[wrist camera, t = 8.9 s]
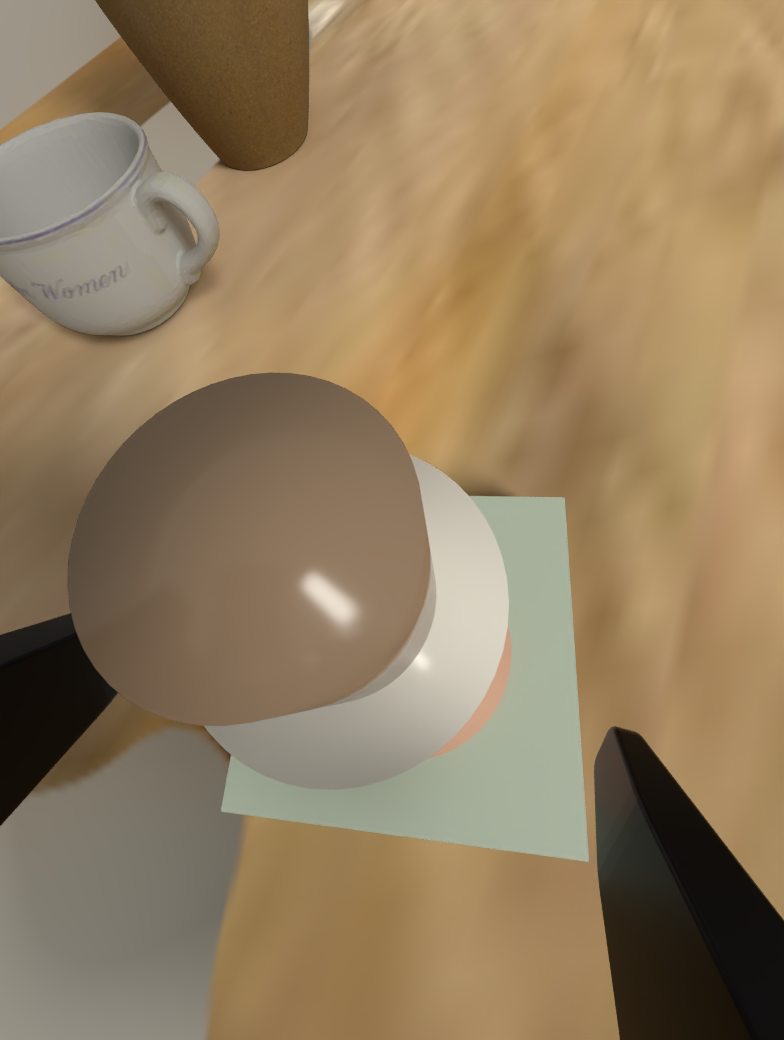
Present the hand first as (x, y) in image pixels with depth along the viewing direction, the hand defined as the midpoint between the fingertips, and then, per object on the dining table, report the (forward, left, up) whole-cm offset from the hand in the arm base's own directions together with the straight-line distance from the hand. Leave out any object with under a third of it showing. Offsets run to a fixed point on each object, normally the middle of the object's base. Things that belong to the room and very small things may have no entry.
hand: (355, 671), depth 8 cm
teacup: (+22, +18, -11) cm, 31 cm away
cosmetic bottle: (+1, 0, -8) cm, 8 cm away
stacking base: (+1, 0, -11) cm, 11 cm away
